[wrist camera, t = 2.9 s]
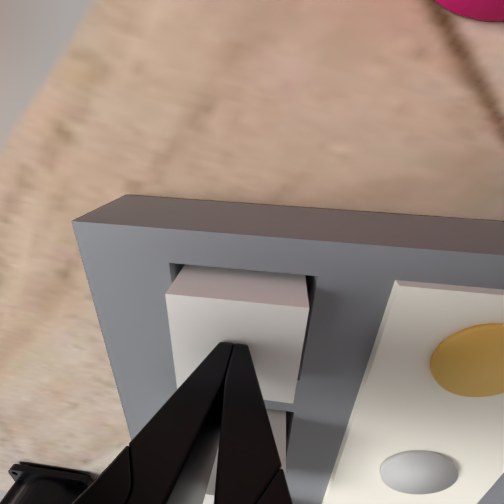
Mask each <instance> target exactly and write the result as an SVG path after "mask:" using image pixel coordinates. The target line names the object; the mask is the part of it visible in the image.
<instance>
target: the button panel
mask: <svg viewBox="0 0 504 504" xmlns="http://www.w3.org/2000/svg"><path fill="white" fill-rule="evenodd" d="M71 222H72V225H73V229H74V232H75V236H76V240H77V243H78V247H79V251H80V254H81V258H82V262H83V265H84V269H85V273H86V276H87V280H88V284H89V287H90V291H91V294H92V298H93V302H94V305H95V309H96V313H97V316H98V320H99V324H100V327H101V331H102V335H103V338H104V342H105V345H106V349H107V353H108V356H109V360H110V364H111V367H112V371H113V375H114V378H115V382H116V386H117V389H118V393H119V396H120V400H121V404H122V407H123V411H124V415H125V418H126V422H127V426H128V429H129V433H130V437H131V440H132V439H133V438H134V437H135V436H136V435H137V434H138V433H139V432H140V430H141V429H142V428H143V427H144V426H145V425H146V424H147V423H148V421H149V420H150V419H151V418H152V417H153V416H154V415H155V414H156V413H157V411H158V410H159V409H160V408H161V407H162V406H163V405H164V404H165V402H166V401H167V400H168V399H169V398H170V397H171V396H172V395H173V394H174V392H175V391H176V390H177V384H176V376H175V368H174V360H173V352H172V344H171V336H170V328H169V320H168V312H167V305H166V297H165V293H166V292H167V290H168V289H169V287H170V286H171V284H172V283H173V281H174V280H175V279H176V277H177V276H178V274H179V273H180V271H181V270H182V268H183V267H184V265H185V264H188V265H199V266H210V267H221V268H232V269H244V270H255V271H266V272H277V273H288V274H300V275H305V278H306V286H307V294H308V301H309V313H308V319H307V325H306V331H305V337H304V343H303V349H302V355H301V361H300V367H299V372H298V378H297V384H296V390H295V396H294V402H293V404H292V403H284V402H276V401H268V400H264V403H265V407H266V409H274V410H282V411H286V481H287V484H288V488H289V491H290V495H291V498H292V501H293V504H504V221H493V220H479V219H465V218H450V217H436V216H422V215H408V214H393V213H379V212H365V211H351V210H336V209H322V208H308V207H294V206H279V205H265V204H251V203H237V202H222V201H208V200H194V199H180V198H165V197H151V196H137V195H124V196H122V197H120V198H118V199H116V200H114V201H112V202H110V203H108V204H106V205H103V206H101V207H99V208H97V209H95V210H93V211H91V212H89V213H87V214H85V215H83V216H81V217H79V218H77V219H75V220H73V221H71Z"/></svg>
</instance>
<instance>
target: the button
mask: <svg viewBox="0 0 504 504" xmlns="http://www.w3.org/2000/svg"><path fill="white" fill-rule="evenodd" d="M165 297H166V305H167V312H168V320H169V328H170V336H171V344H172V352H173V360H174V368H175V376H176V384H177V389H178V388H179V387H180V386H181V385H182V383H183V382H184V381H185V380H186V379H187V378H188V377H189V376H190V375H191V373H192V372H193V371H194V370H195V369H196V368H197V367H198V366H199V364H200V363H201V362H202V361H203V360H204V359H205V358H206V357H207V356H208V354H209V353H210V352H211V351H212V350H213V349H214V348H215V347H216V345H217V344H218V343H219V342H229V343H233V344H236V343H238V344H246V345H248V347H249V350H250V353H251V357H252V360H253V364H254V368H255V371H256V375H257V378H258V382H259V385H260V389H261V393H262V396H263V400H268V401H276V402H284V403H292V404H293V402H294V396H295V390H296V384H297V378H298V372H299V367H300V361H301V355H302V349H303V343H304V337H305V331H306V325H307V319H308V313H309V301H308V294H307V286H306V278H305V275H300V274H288V273H277V272H266V271H255V270H244V269H232V268H221V267H210V266H199V265H188V264H185V265H184V267H183V268H182V270H181V271H180V273H179V274H178V276H177V277H176V279H175V280H174V281H173V283H172V284H171V286H170V287H169V289H168V290H167V292H166V293H165Z"/></svg>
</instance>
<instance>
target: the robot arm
mask: <svg viewBox="0 0 504 504" xmlns="http://www.w3.org/2000/svg"><path fill="white" fill-rule="evenodd" d="M218 446H219V448H218ZM217 450H218V459H217V471H216V483H215V495H214V504H293V501H292V498H291V495H290V491H289V488H288V484H287V481H286V477H285V474H284V470H283V469H282V464H281V460H280V457H279V453H278V450H277V446H276V442H275V439H274V435H273V432H272V428H271V425H270V421H269V417H268V414H267V410H266V407H265V403H264V400H263V396H262V393H261V389H260V385H259V382H258V378H257V375H256V371H255V368H254V364H253V360H252V357H251V353H250V350H249V347H248V345H246V344H238V343H236V344H233V343H229V342H219V343H218V344H217V345H216V347H215V348H214V349H213V350H212V351H211V352H210V353H209V354H208V356H207V357H206V358H205V359H204V360H203V361H202V362H201V363H200V364H199V366H198V367H197V368H196V369H195V370H194V371H193V372H192V373H191V375H190V376H189V377H188V378H187V379H186V380H185V381H184V382H183V383H182V385H181V386H180V387H179V388H178V389H177V390H176V391H175V392H174V394H173V395H172V396H171V397H170V398H169V399H168V400H167V401H166V402H165V404H164V405H163V406H162V407H161V408H160V409H159V410H158V411H157V413H156V414H155V415H154V416H153V417H152V418H151V419H150V420H149V421H148V423H147V424H146V425H145V426H144V427H143V428H142V429H141V430H140V432H139V433H138V434H137V435H136V436H135V437H134V438H133V439H132V441H131V442H130V443H129V446H126V447H125V448H124V449H123V450H122V451H121V453H120V454H119V455H118V456H117V457H116V458H115V459H114V460H113V462H112V463H111V464H110V465H109V466H108V467H107V468H106V469H105V470H104V471H103V472H102V473H101V474H100V476H99V477H98V478H97V479H96V480H95V481H94V482H93V483H92V481H91V478H90V477H88V476H87V475H83V474H77V473H71V472H64V471H58V470H51V469H45V468H39V467H32V466H26V465H19V464H13V466H12V467H11V468H10V470H9V471H8V472H9V474H10V475H11V476H12V478H13V479H14V481H15V483H14V484H13V486H12V487H11V488H10V490H9V491H8V492H7V494H6V495H5V496H4V498H3V499H2V501H1V502H0V504H203V501H204V498H205V494H206V490H207V487H208V483H209V479H210V476H211V472H212V468H213V465H214V461H215V457H216V454H217Z"/></svg>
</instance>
